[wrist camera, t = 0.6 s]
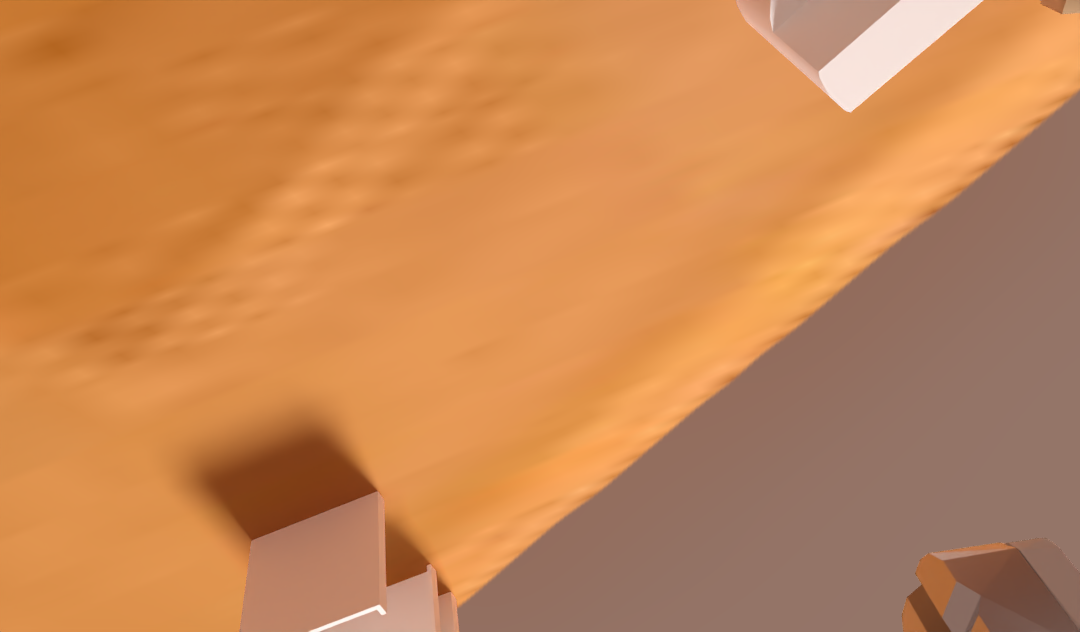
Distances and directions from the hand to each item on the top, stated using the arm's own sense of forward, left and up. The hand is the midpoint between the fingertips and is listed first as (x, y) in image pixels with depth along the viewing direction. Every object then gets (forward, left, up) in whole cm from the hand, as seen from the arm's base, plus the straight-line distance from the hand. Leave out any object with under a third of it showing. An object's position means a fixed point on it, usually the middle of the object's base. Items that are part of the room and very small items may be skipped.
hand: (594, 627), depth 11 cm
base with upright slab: (+5, +22, -45) cm, 51 cm away
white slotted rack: (+56, -8, -46) cm, 73 cm away
